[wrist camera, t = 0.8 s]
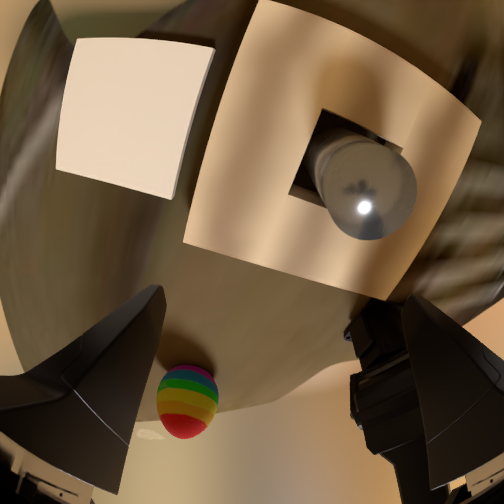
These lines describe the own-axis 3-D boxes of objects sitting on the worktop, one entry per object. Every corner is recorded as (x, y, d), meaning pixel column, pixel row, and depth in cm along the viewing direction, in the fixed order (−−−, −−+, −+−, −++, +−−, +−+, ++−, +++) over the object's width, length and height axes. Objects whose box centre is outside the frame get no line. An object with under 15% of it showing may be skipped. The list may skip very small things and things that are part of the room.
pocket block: (460, 115, 15) (481, 121, 13) (375, 280, 25) (385, 300, 22) (260, 11, 13) (260, -2, 11) (192, 224, 22) (183, 242, 20)
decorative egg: (154, 358, 33) (135, 421, 25) (209, 356, 32) (197, 428, 24) (179, 388, 38) (166, 444, 29) (228, 387, 36) (221, 449, 28)
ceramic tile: (215, 50, 15) (213, 48, 14) (174, 196, 21) (171, 199, 20) (82, 39, 13) (77, 38, 13) (60, 166, 20) (55, 169, 19)
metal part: (376, 143, 18) (431, 173, 11) (351, 198, 21) (389, 251, 14) (318, 116, 17) (352, 128, 11) (294, 176, 20) (310, 222, 13)
